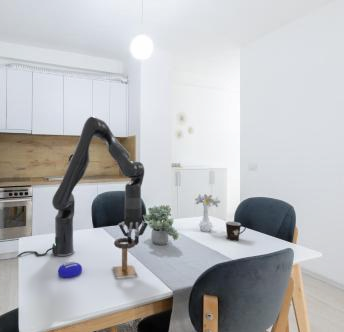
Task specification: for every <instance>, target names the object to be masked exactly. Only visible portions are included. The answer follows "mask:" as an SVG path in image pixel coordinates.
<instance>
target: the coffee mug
mask: <svg viewBox="0 0 344 332" xmlns="http://www.w3.org/2000/svg"><path fill="white" fill-rule="evenodd" d="M241 227H243V228H244V229H243V230H242V231H241ZM225 228H226V229H225V230H226V238H227V239H226V240H229V241H233V242H238V241H239V239H240V235H241V234H243V233H244V232H245V231H246V225H244V224H242V223H240V222H237V221H230V220H229V221H225Z"/></svg>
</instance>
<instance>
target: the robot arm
mask: <svg viewBox="0 0 344 332" xmlns="http://www.w3.org/2000/svg"><path fill="white" fill-rule="evenodd" d="M93 138H98V139H99V140H100V141H102V142H103V143H104V144H105V146H106V149H107V152H108V153H109V155H110V157H112V159H113V160H114V161H115V162H116V165H117V167H118V169H119V171H120V174H122V176H123V177H125V178H127V179H130V181H129V182H127V183H126V184H125V186H124V218H123V221H121V222H119V223H118V224H117V226H118V227H119V229H120V231H121V232H122V235H123V236H124V237H126V238H127V242H128V243H127V242H126V243H127V244H129V243H131V239H132V232H133V230H134V240H135V242H136V245H135V246H138V244H139V243H140V242H139V240H140V238H139V237H140V236H143V235H144V233H145V231H146V229H147V227H148V222H146V221H144V220H143V218H142V206H143V203H142V185H143V181H144V176H145V166H144V164H143V163H142V162H141V161H138V160H137V161H130V159H131V154H130V153H129V152H128V150H127V149H126V148H125V147H124V146H123V145H122V143H120V141H119V140H118V139H117V138H116V136H115V135H114V133H113V132H112V131H111V129H110V127H109V125H108V124H107V122H105V121H104V120H102V119H100V118H99V117H96V116H89V117H88V118H87V119H86V121H85V122H84V124H83V126H82V130H81V133H80V136H79V139H78V142H77V144H76V146H75V150H74V152H73V154H72V156H71V158H70V161H69V163H68V165H67V168H66V170H65V172H64V175H63V177H62V180H61V182H60V184H59V186H58V188H57V190H56V191H55V193H54V194H53V197H52V201H51V202H52V203H51V204H52V206H53V208H54V209H55V210H56V211H57V214H56V215H55V217H54V223H55V224H54V229H55V232H54V233H55V235H54V243H52V247H50V248H48V249H47V250H46V251H45V252H44V253H38V252H37V251H33V250H27V251H23V252H20V253H19V254H18V255H17V256H16V258H19V257H21V256H22V255H24V254H35V255H36V256H38V257H40V256H41V257H42V256H46V255H47V254H48V252H49V251H51V254H54V256H55V257H56V256H57V257H68V256H71V255H72V254H74V217H75V206H76V205H75V196H74V194H73V191H74V189H75V187H76V186H77V185H78V183H80V181H81V179H82V178H83V177H84V175H85V173H86V172H87V170H88V167H89V164H90V160H91V159H90V158H91V157H90V146H91V143H92V140H93ZM125 226H126V227H127V229H126V230H125ZM140 226H141V227H140Z"/></svg>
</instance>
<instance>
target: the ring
mask: <svg viewBox="0 0 344 332" xmlns="http://www.w3.org/2000/svg"><path fill="white" fill-rule="evenodd" d="M113 245H114V247H116V248H118V249H121V250H122V249H127V250H128V249H129V250H130V249H132V248H135V246H137V245H136V242H135V238H134V239H133V238H131V243H129V244H128V242H127V237H120V238H117V239H115V240H114V241H113Z"/></svg>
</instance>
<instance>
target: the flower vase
mask: <svg viewBox="0 0 344 332" xmlns="http://www.w3.org/2000/svg"><path fill="white" fill-rule="evenodd" d="M212 197H213V195H212V194H210V195H207V194H206V193H204V195H202V196H201V194H198V196H197V197H196V198H195V199H194V201H195V203H194V205H199V204H200V203H201V204H202V205H203V217H202V219H201V220H200V221H199V222H198V228H200V230H201V231H202V232H211V230H212V229H213V227H214V226H213V222H211V220H210V218H209V208H211V207H212V206H215V207H216V208H218V205H219V204H220V203H221V200H219V199H218V198H219V196H216V197H215V198H212Z"/></svg>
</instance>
